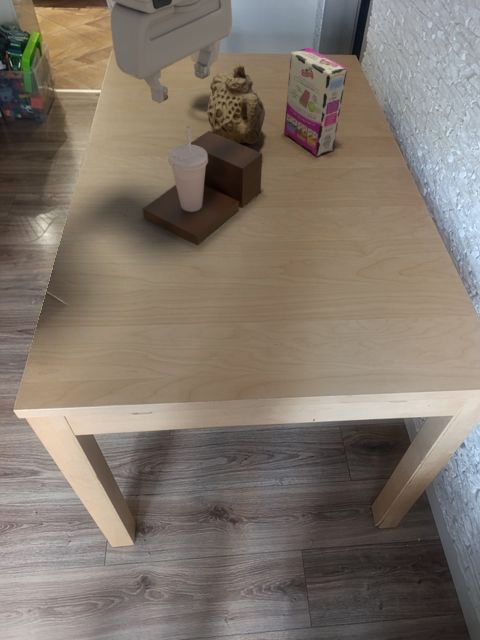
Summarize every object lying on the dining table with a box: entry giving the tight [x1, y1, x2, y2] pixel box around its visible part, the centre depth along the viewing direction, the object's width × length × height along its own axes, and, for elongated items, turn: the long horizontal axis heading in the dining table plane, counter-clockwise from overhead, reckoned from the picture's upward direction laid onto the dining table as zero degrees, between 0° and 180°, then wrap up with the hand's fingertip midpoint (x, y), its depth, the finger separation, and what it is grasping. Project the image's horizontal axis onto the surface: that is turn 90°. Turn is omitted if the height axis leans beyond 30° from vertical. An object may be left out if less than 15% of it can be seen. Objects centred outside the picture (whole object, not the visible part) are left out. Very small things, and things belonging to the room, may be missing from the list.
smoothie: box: [167, 125, 208, 212], centre depth 83 cm, size 6×6×14 cm
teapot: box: [206, 63, 266, 145], centre depth 99 cm, size 21×12×15 cm, turn 23°
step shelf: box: [142, 130, 263, 246], centre depth 88 cm, size 12×19×8 cm, turn 146°
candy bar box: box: [283, 47, 348, 157], centre depth 100 cm, size 11×5×16 cm, turn 37°
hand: (182, 88), depth 72 cm, fingers open, 8 cm apart
